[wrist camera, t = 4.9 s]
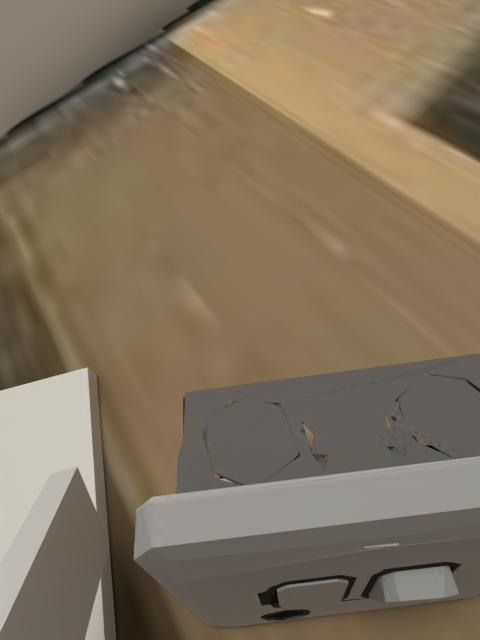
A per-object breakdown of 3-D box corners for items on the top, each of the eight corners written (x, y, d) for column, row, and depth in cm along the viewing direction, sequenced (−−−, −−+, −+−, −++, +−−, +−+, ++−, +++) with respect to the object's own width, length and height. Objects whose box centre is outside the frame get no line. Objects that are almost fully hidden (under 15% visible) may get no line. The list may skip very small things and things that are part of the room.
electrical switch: (208, 628, 13) (110, 689, 6) (202, 472, 16) (132, 373, 9) (479, 596, 13) (757, 613, 5) (423, 444, 16) (552, 318, 8)
